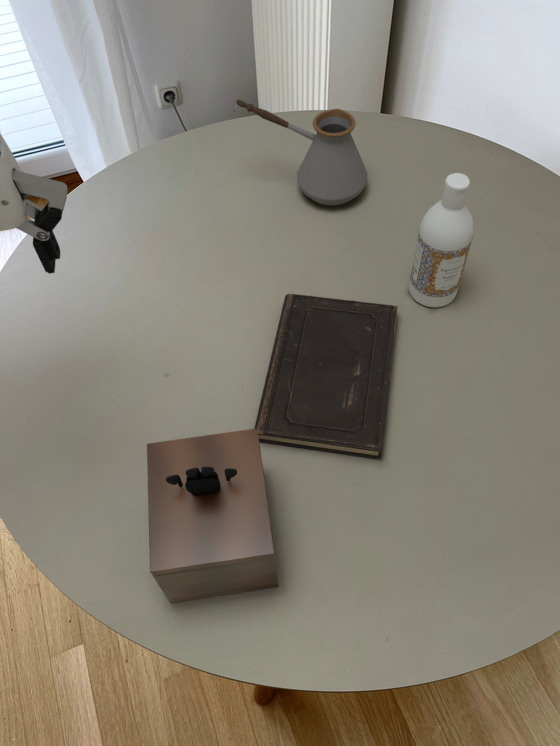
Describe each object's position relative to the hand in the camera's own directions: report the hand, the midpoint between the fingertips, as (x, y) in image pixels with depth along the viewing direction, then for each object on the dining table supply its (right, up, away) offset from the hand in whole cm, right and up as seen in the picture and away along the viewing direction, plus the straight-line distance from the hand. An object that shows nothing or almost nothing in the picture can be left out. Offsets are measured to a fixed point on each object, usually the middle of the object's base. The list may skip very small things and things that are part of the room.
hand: (0, 269), depth 61 cm
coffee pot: (+30, +21, +48) cm, 60 cm away
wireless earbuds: (+19, -22, +5) cm, 30 cm away
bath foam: (+49, +2, +34) cm, 59 cm away
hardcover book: (+33, -10, +26) cm, 43 cm away
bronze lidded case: (+19, -28, +14) cm, 37 cm away
